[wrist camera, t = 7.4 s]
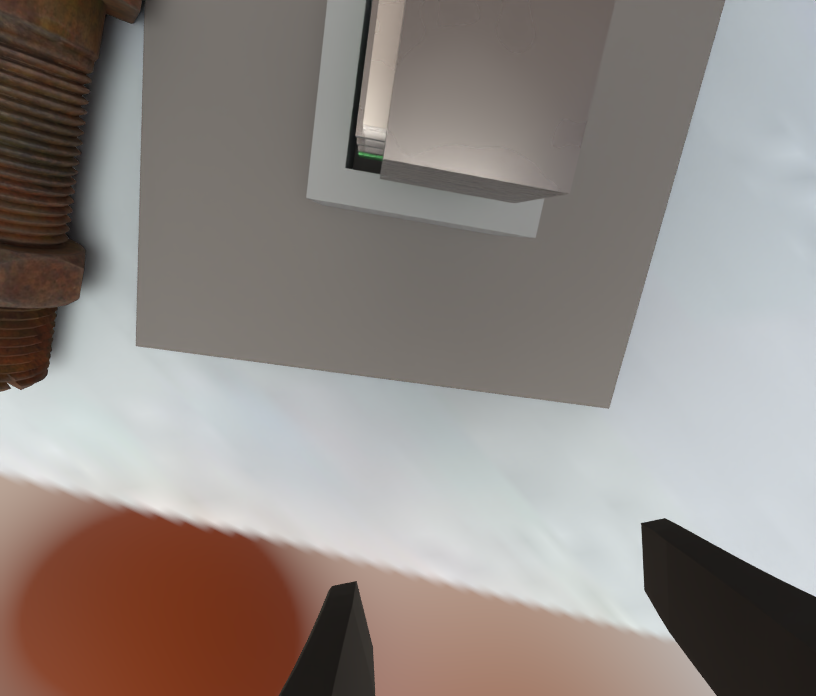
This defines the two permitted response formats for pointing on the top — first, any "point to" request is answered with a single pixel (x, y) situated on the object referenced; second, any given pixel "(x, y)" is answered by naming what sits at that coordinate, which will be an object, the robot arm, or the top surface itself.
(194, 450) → the top surface
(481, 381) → the jack base
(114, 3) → the bolt
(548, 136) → the tall silver metal block
